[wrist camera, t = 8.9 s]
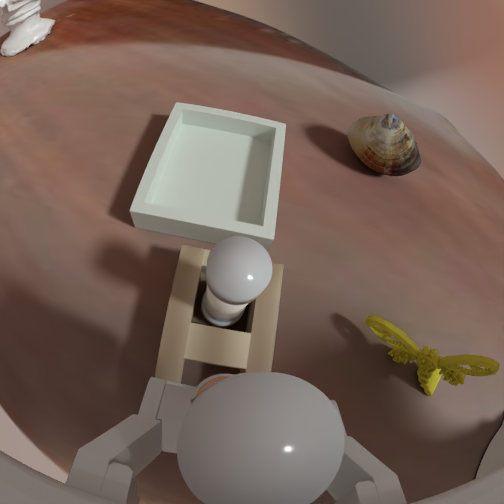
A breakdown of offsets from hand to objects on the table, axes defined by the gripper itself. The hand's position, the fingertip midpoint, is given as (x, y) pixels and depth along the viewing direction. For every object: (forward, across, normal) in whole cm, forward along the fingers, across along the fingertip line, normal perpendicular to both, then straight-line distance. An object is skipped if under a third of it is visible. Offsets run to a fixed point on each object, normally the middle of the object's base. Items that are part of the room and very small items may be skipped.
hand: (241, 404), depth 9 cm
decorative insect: (+14, -17, +8) cm, 23 cm away
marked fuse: (+4, 0, +5) cm, 6 cm away
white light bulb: (+15, 0, +6) cm, 16 cm away
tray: (+24, +4, -3) cm, 24 cm away
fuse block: (+12, +1, +8) cm, 15 cm away
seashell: (+30, -14, -9) cm, 34 cm away
